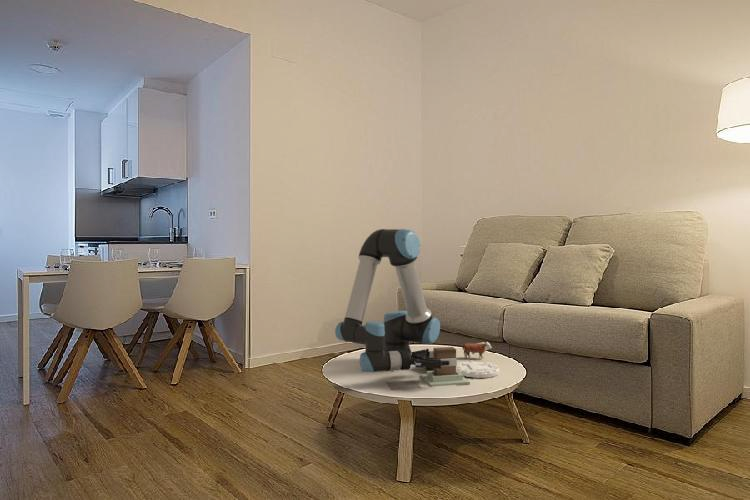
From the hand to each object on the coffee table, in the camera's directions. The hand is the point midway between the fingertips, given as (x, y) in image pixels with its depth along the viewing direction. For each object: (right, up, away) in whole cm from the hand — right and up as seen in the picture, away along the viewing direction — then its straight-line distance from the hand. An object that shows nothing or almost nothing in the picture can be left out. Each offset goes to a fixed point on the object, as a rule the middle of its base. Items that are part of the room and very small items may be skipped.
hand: (450, 357), depth 209 cm
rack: (-2, -9, 0) cm, 10 cm away
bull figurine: (+17, -8, +34) cm, 39 cm away
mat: (-19, -10, -7) cm, 23 cm away
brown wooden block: (-2, -8, 0) cm, 9 cm away
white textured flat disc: (+12, -9, +12) cm, 20 cm away
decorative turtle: (-5, -9, +16) cm, 19 cm away
